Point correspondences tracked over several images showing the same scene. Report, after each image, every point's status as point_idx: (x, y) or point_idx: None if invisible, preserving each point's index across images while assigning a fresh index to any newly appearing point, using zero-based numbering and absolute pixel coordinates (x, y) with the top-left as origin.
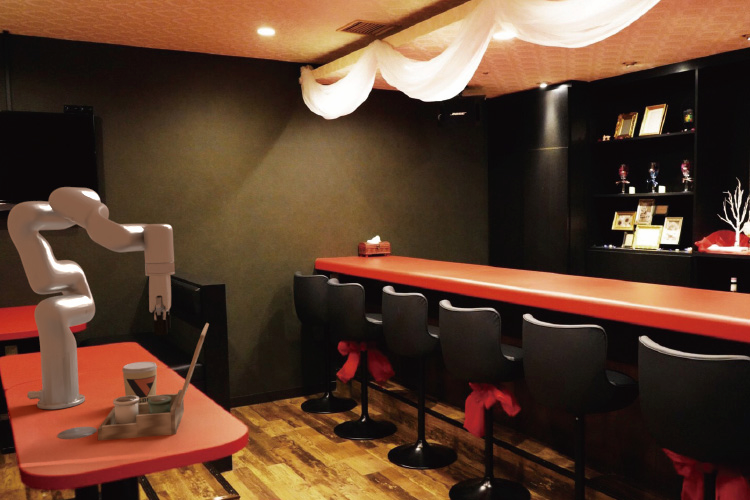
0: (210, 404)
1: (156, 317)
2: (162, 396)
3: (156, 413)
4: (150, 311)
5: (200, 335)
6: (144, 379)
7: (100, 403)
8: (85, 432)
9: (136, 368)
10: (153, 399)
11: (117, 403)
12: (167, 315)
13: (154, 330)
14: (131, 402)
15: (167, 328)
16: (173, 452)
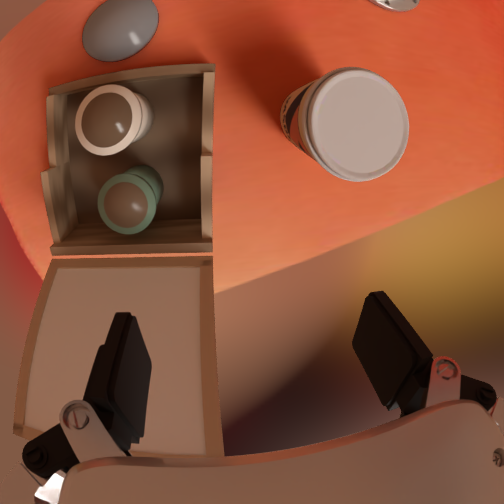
0: (274, 269)
1: (51, 430)
2: (146, 209)
3: (53, 213)
4: (80, 464)
5: (13, 432)
6: (300, 137)
7: (364, 34)
8: (113, 41)
9: (326, 114)
10: (120, 190)
11: (80, 107)
12: (388, 398)
13: (109, 332)
14: (82, 143)
15: (357, 331)
16: (23, 237)
